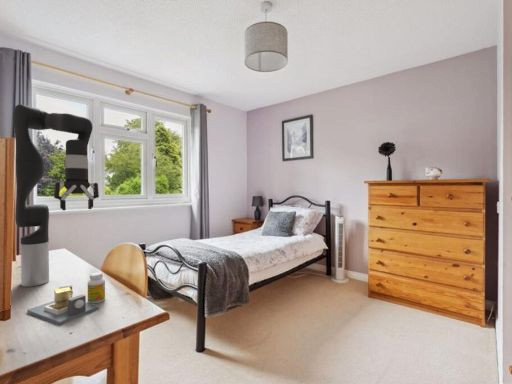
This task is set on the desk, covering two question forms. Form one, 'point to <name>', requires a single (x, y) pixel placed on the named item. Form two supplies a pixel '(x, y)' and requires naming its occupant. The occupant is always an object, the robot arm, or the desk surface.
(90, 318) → the desk surface
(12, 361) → the desk surface
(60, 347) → the desk surface
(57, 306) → the tan rectangular block
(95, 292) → the supplement bottle
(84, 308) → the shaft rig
